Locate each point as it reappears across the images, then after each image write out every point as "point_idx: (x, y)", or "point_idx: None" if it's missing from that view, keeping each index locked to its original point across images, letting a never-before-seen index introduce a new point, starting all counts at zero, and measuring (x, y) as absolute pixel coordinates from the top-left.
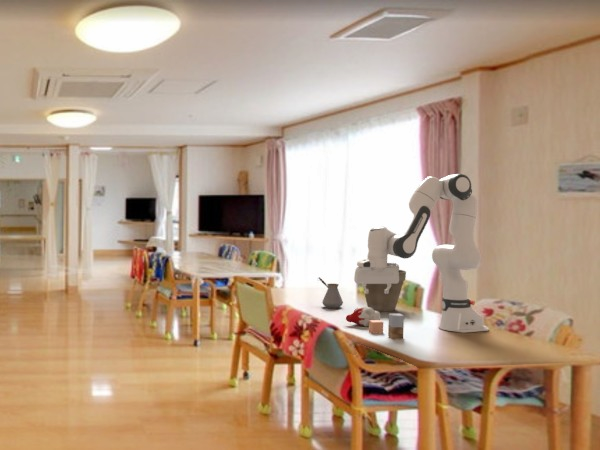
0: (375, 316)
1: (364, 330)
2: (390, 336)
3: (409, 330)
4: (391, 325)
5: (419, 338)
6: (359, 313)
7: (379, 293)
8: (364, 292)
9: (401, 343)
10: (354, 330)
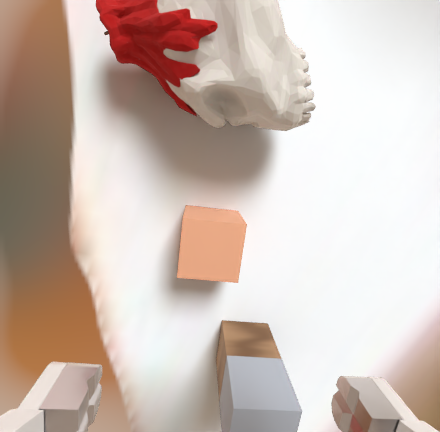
0: (268, 128)
1: (169, 189)
2: (218, 347)
3: (370, 238)
4: (221, 396)
5: (319, 371)
6: (168, 73)
7: None
8: (46, 375)
9: (214, 422)
10: (118, 177)
